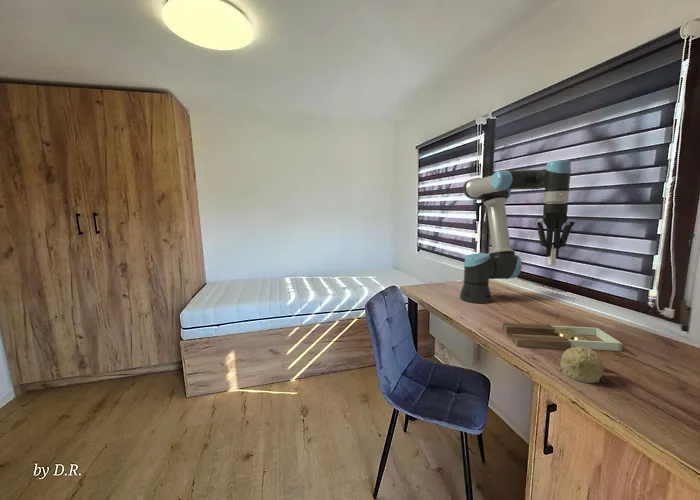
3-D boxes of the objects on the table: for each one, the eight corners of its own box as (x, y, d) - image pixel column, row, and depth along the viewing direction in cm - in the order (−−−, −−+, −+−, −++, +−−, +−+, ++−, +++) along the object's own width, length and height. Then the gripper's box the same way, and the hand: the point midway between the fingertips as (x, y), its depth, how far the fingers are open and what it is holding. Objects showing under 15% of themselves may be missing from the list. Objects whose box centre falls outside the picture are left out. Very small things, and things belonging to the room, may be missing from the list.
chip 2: (554, 337, 104) (555, 330, 104) (566, 338, 104) (567, 331, 104) (562, 342, 100) (563, 335, 100) (574, 343, 100) (575, 336, 100)
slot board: (502, 331, 113) (502, 322, 112) (548, 333, 110) (549, 324, 109) (516, 349, 98) (517, 339, 98) (570, 352, 95) (571, 342, 95)
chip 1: (557, 336, 106) (558, 330, 106) (564, 334, 107) (565, 328, 107) (569, 341, 102) (570, 334, 102) (576, 339, 104) (577, 332, 103)
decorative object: (571, 393, 80) (598, 375, 74) (545, 359, 88) (568, 340, 82) (594, 389, 83) (622, 371, 77) (567, 356, 91) (590, 338, 85)
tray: (550, 334, 109) (550, 325, 108) (596, 337, 106) (597, 327, 106) (568, 350, 97) (569, 340, 96) (621, 353, 94) (622, 343, 93)
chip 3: (573, 340, 103) (574, 333, 102) (588, 344, 100) (588, 337, 99) (570, 344, 100) (571, 337, 100) (585, 347, 97) (586, 340, 97)
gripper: (540, 203, 109) (536, 266, 112) (580, 202, 106) (575, 266, 109) (532, 203, 116) (528, 262, 119) (569, 202, 114) (565, 263, 117)
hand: (551, 264), depth 114 cm, fingers closed
